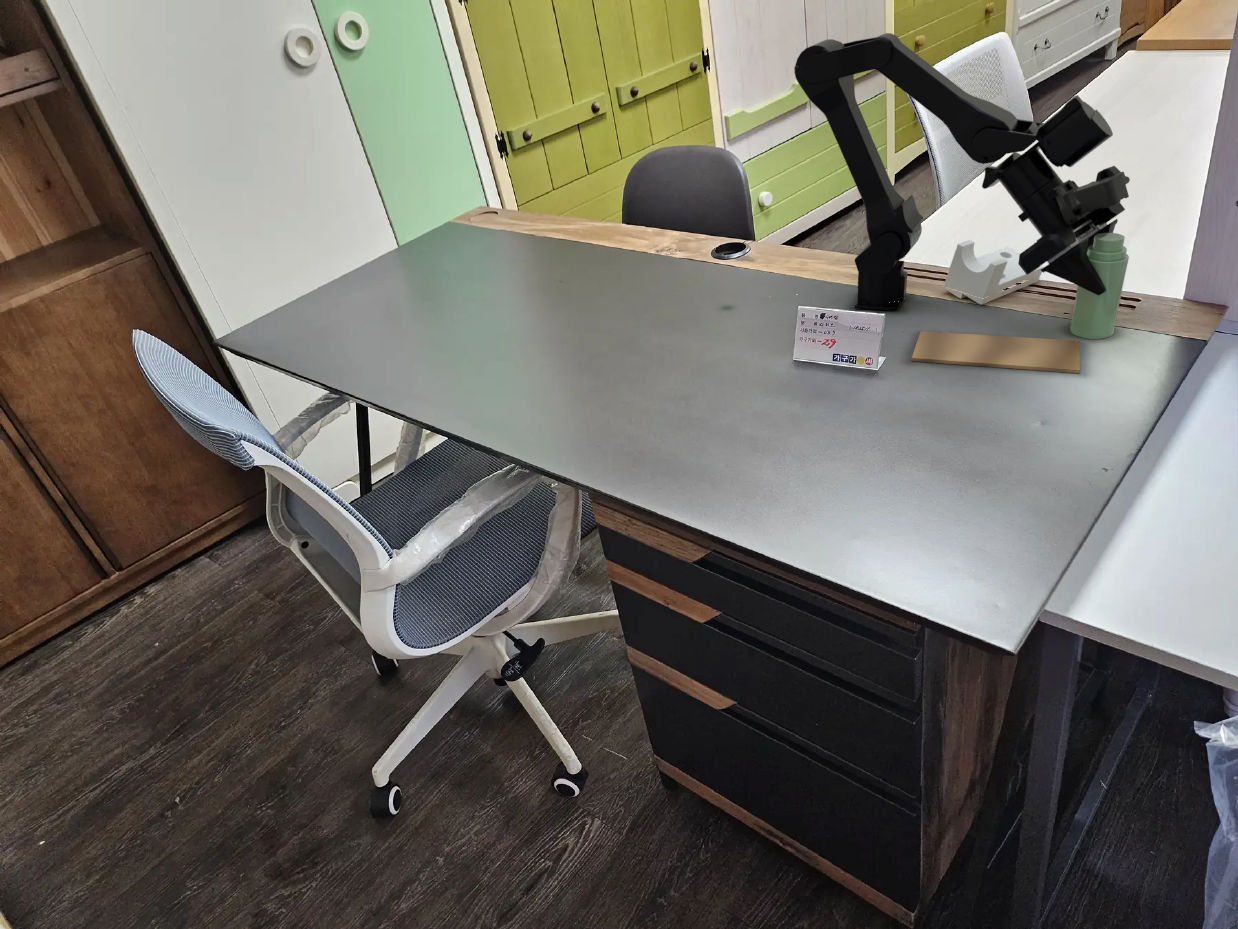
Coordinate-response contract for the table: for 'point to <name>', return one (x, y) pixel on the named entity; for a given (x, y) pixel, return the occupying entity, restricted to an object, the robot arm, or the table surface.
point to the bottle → (1110, 263)
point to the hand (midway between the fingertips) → (1111, 286)
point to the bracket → (986, 273)
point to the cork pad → (998, 351)
